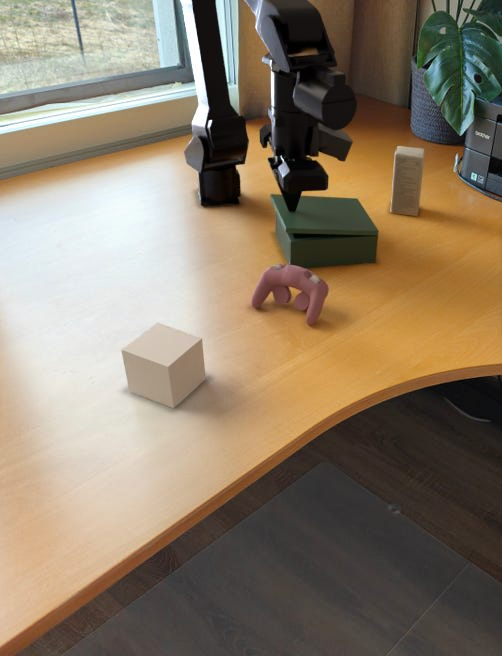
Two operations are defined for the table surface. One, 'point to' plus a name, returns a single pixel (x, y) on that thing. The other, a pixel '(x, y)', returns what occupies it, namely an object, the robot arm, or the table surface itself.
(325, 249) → the toy chest
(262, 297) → the video game controller
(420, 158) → the box
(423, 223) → the table surface
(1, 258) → the table surface
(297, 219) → the lid
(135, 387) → the beige cube block
